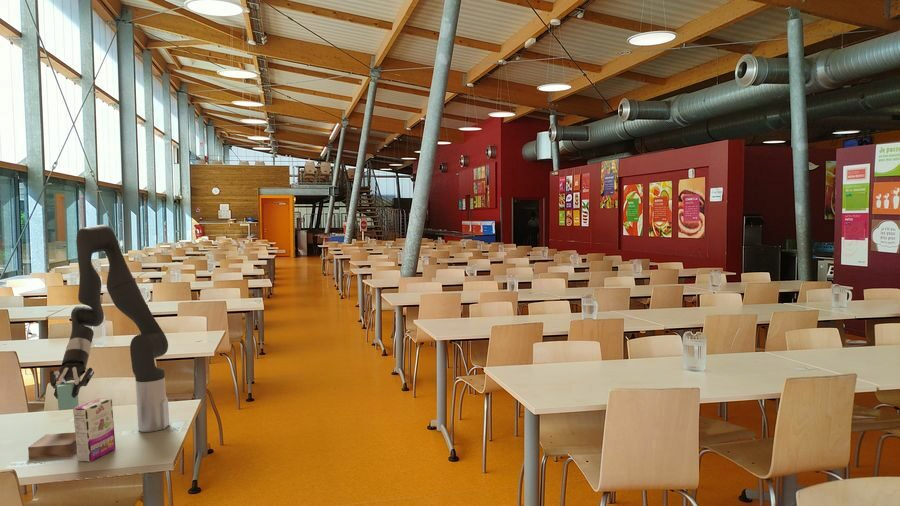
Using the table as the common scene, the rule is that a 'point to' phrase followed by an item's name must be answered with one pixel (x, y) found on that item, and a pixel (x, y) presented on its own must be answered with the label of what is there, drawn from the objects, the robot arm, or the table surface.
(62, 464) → the table surface
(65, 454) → the walnut block
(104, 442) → the candy bar box
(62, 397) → the teal pillar block
